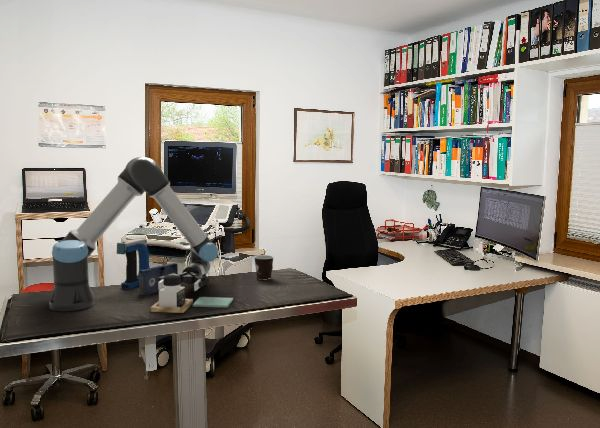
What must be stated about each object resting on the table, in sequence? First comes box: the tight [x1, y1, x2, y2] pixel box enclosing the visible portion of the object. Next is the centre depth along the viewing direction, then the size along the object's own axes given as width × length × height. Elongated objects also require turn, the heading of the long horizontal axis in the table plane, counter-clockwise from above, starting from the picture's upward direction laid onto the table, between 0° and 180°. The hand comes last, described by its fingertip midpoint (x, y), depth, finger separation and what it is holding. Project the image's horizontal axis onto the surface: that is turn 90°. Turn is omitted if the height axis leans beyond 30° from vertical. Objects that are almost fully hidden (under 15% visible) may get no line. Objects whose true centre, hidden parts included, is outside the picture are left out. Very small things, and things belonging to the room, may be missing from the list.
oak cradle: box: [150, 298, 194, 314], centre depth 185 cm, size 12×12×2 cm
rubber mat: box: [192, 296, 234, 308], centre depth 191 cm, size 13×10×1 cm
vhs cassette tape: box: [138, 262, 179, 296], centre depth 208 cm, size 18×3×10 cm, turn 145°
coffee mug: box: [254, 254, 274, 279], centre depth 228 cm, size 12×9×10 cm
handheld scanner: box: [116, 238, 150, 290], centre depth 213 cm, size 5×16×20 cm, turn 158°
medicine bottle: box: [158, 274, 186, 307], centre depth 184 cm, size 7×7×12 cm
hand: (177, 286), depth 188 cm, fingers open, 13 cm apart
